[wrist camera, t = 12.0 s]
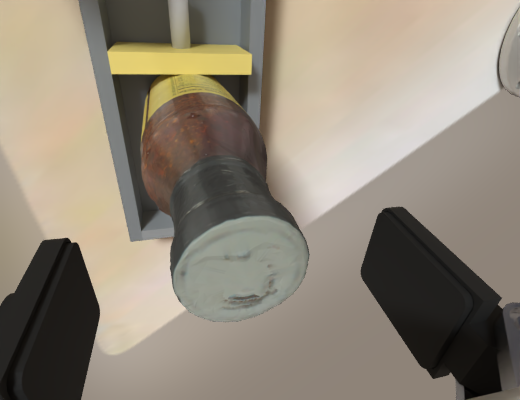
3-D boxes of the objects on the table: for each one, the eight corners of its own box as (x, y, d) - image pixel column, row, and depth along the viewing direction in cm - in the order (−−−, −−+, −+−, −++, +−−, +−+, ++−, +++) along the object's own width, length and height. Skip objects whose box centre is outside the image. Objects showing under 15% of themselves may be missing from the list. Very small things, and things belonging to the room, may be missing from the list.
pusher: (237, -20, 21) (254, -24, 18) (236, 62, 24) (251, 74, 20) (104, -31, 19) (90, -38, 15) (119, 60, 22) (111, 74, 18)
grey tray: (253, -67, 21) (270, -79, 18) (244, 204, 33) (254, 226, 30) (73, -88, 19) (55, -106, 15) (133, 215, 30) (130, 241, 27)
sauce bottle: (200, 153, 28) (257, 371, 11) (131, 115, 24) (75, 344, 8) (242, 88, 26) (381, 244, 10) (172, 39, 22) (204, 146, 6)
